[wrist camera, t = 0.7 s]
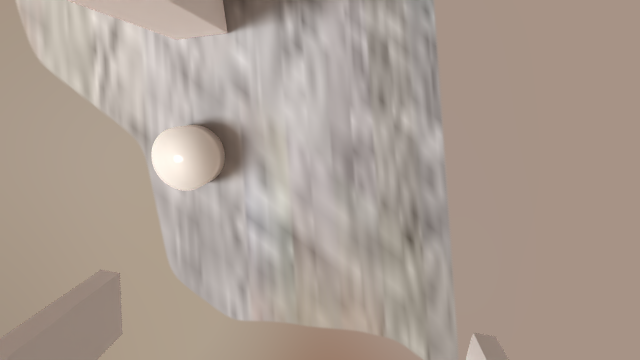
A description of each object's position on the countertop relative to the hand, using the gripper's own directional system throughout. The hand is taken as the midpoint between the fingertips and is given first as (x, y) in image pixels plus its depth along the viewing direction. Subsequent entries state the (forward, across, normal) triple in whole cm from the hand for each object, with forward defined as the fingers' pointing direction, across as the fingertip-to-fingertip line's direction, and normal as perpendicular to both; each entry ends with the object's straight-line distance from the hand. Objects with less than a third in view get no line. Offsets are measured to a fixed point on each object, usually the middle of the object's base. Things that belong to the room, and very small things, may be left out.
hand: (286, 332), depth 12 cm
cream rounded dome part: (+27, -16, 0) cm, 32 cm away
